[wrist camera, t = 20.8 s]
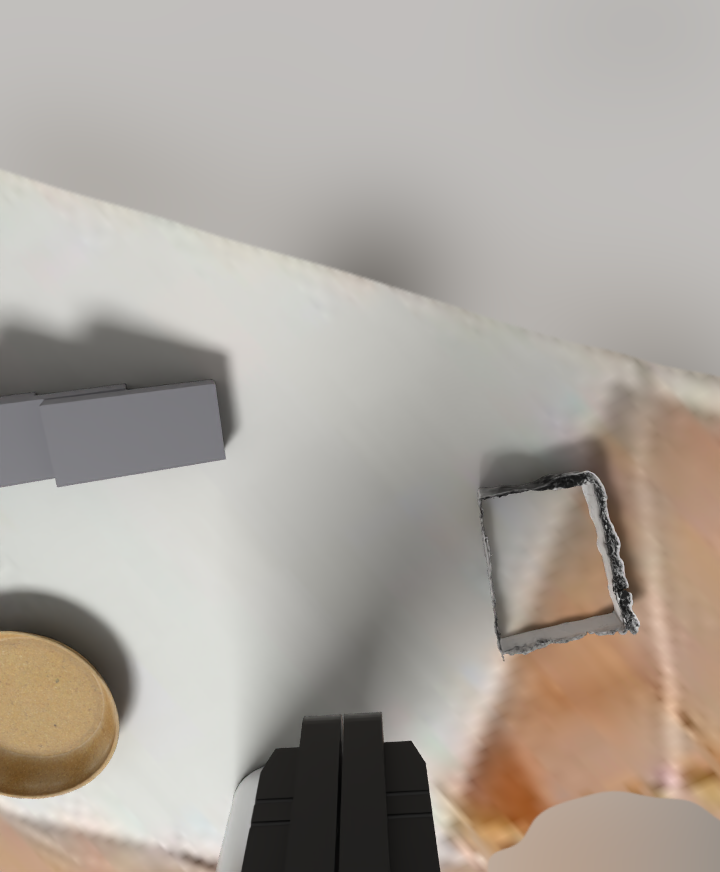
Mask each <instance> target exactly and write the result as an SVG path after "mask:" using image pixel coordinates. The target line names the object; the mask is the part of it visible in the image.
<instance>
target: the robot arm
mask: <svg viewBox="0 0 720 872" xmlns="http://www.w3.org/2000/svg"><path fill="white" fill-rule="evenodd" d="M216 872H440V866H439V859H438V851H437V844H436V836H435V829H434V822H433V816H432V807H431V799H430V793H429V784H428V777H427V770H426V763H425V761H424V760H423V758H422V757H421V755H420V754H419V752H418V750H417V749H416V747H415V746H414V744H413V743H412V741H401V742H384V739H383V724H382V712H376V713H358V714H345V715H344V729H343V719H342V715H326V716H309V717H304V718H303V723H302V731H301V739H300V747H297V748H279V749H275V751H274V752H273V754H272V755H271V757H270V759H269V760H268V762H267V763H266V765H265V766H264V767H262V768H259V769H257V770H255V771H253V772H252V773H251V774H249V775H248V776H246V777H245V778H244V780H243V781H242V782H241V783H240V784H239V786H238V788H237V790H236V791H235V794H234V798H233V802H232V806H231V810H230V814H229V818H228V822H227V827H226V831H225V835H224V839H223V842H222V847H221V851H220V855H219V859H218V863H217V868H216Z"/></svg>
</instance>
